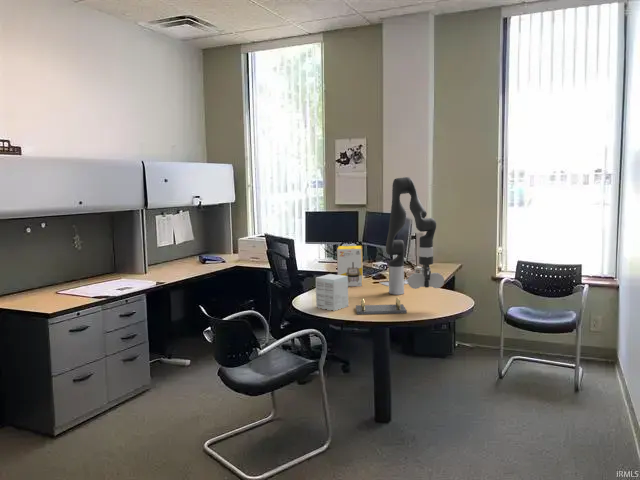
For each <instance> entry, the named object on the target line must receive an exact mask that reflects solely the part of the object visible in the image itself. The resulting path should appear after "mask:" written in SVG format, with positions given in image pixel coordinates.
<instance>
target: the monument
mask: <svg viewBox="0 0 640 480" xmlns="http://www.w3.org/2000/svg"><path fill="white" fill-rule="evenodd" d="M422 267H423V266H414V268H413V269H414V273H422ZM379 284H381V285H383V286H386V287H389V281H382V282H379ZM404 285H409V284H408V278H407V279H404Z"/></svg>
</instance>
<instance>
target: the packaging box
mask: <svg viewBox="0 0 640 480" xmlns="http://www.w3.org/2000/svg"><path fill="white" fill-rule="evenodd" d="M336 260H337V261H336V262H337V263H336V264H337V266H336V267H337V275H343V276H348V287H363V281H364V280H363V279H364V278H363V277H364V275H363V273H364V272H363V245H338V247H337V249H336Z"/></svg>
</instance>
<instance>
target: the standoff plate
mask: <svg viewBox="0 0 640 480" xmlns="http://www.w3.org/2000/svg"><path fill="white" fill-rule="evenodd" d="M365 302H366V301H365V298H360V305H359V304H357V305H355V309H356V314H357V315H389V314H390V315H391V314H407V309H406V307H405V305H404V304H402V303H401V300H400V299H399V297H395V304H366V303H365Z"/></svg>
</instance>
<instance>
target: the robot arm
mask: <svg viewBox="0 0 640 480" xmlns="http://www.w3.org/2000/svg"><path fill="white" fill-rule="evenodd" d="M391 186H392V187H391V188H392V189H391V190H392V191H391V209H390V215H389V225H388V233H387V239H386V244H385V252H386V254H387V255H388V256H396V257H395V258H393V259H391V260H389V261H388V282H389V286H388V293H389V294H390V295H395V296H396V295H403V294H405V284H404V280H405V267H404V265H405V264H404V263H405V241H404V240H402V239H396V236H397V235H398V233H399V232H400V231H401V230H402V228H403V227H404V226H405V224H406V219H407V218H406V217H407V212H406V209H405V208H404V206H403V205H402V203H401V195H404V194H405V195H406V194H409V195H410V201H409V210H410V212H411V214H412V215H413V216H412V217H414V221H415V227H416V230H417V231H419V232H422V233H424V232H426V233H425V234H424V235H421V236H420V237H419V248H418V264H419V265H422V266H421V267H422V273H423V276H424V287H423V288H430V287H429V280H430V274H431V273H432V272H431V267H430V266H431V265H434V245H433V244H434V243H433V242H434V236H435V232H436V229H437V222H436V220H435V219H434V218H433V217H427V213H428V212H427V211H426V209H425V207H424V205H423V204H422V202H421V200H420V198H419V193H418V192H417V188H416V185H415V183H414V181H413V179H412V178H411V177H409V176H407V177H406V176H404V177H398V178H397V177H396V178H395V179H393V182H392V185H391ZM426 217H427V218H426ZM426 277H428V278H426Z"/></svg>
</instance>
